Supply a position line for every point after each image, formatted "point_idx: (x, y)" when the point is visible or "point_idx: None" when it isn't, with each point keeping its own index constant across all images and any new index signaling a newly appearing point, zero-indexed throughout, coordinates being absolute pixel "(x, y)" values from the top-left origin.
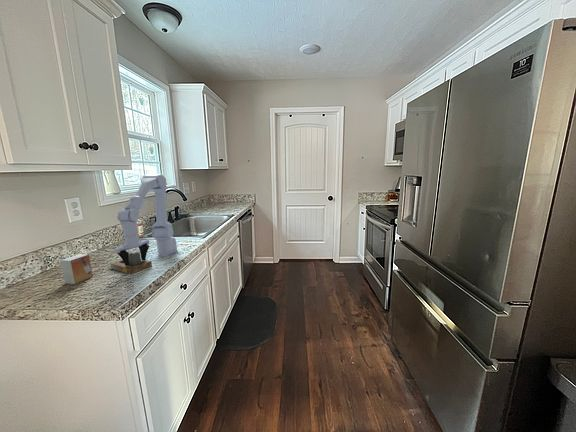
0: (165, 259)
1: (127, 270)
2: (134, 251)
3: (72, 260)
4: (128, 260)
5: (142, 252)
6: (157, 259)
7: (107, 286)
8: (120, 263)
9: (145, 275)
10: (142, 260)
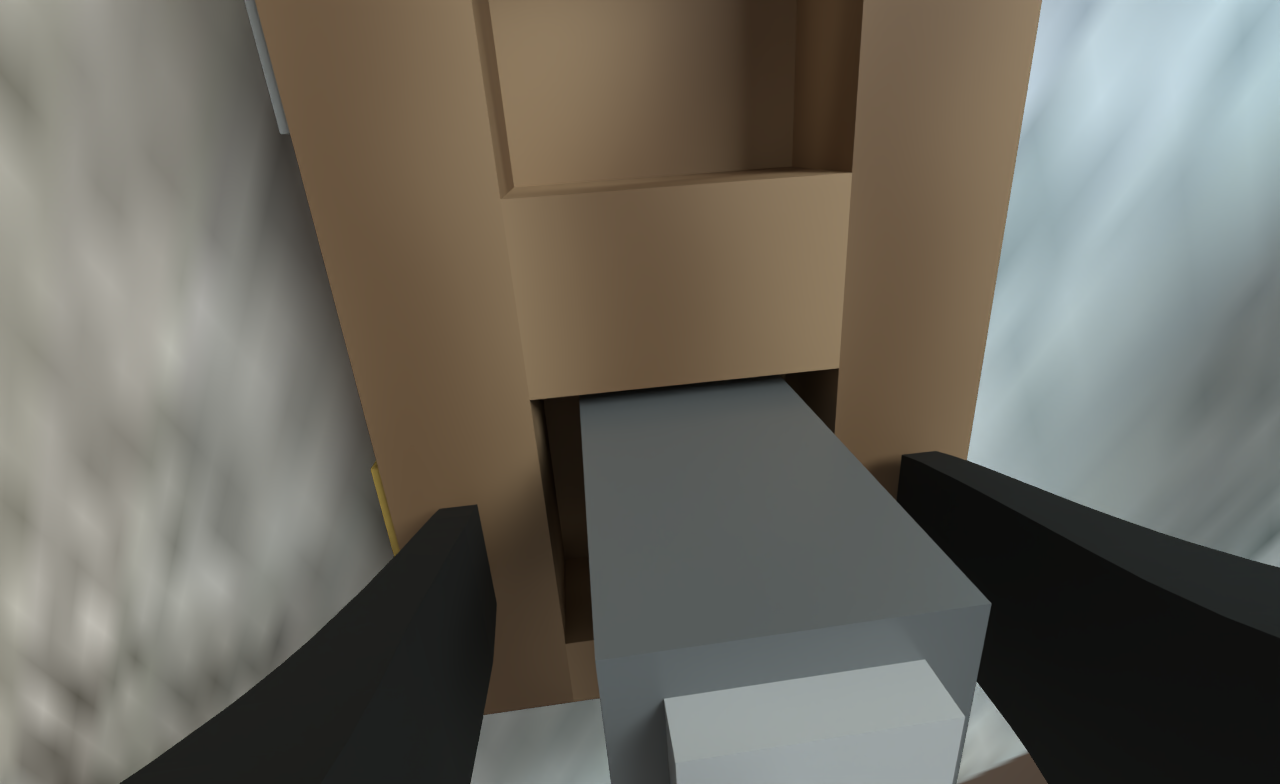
0: (1256, 394)
1: None
2: (904, 779)
3: None
4: (461, 777)
5: (1080, 695)
6: (1246, 228)
7: (34, 744)
8: (439, 54)
9: (598, 777)
10: (908, 433)
